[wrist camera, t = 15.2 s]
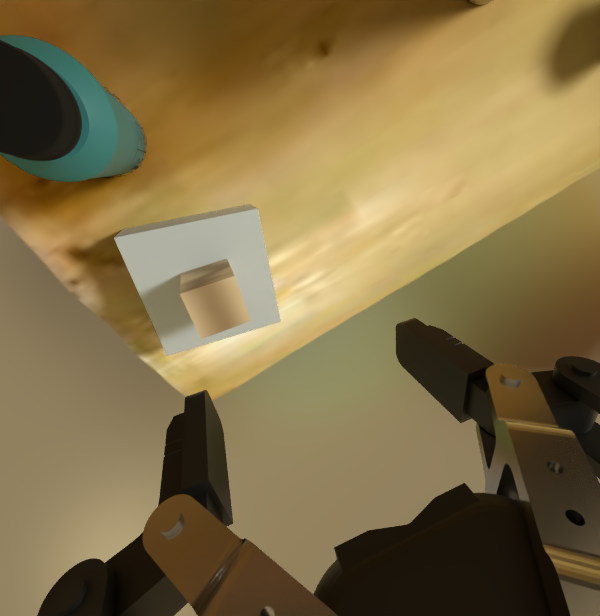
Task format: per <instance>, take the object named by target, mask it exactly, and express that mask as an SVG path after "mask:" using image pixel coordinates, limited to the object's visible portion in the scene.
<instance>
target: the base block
mask: <svg viewBox="0 0 600 616" xmlns="http://www.w3.org/2000/svg"><path fill="white" fill-rule="evenodd" d="M114 240H115V242H116V244H117V246H118V249H119V251H120V253H121V255H122V257H123V260H124V262H125V264H126V266H127V269H128V271H129V273H130V275H131V277H132V280H133V282H134V284H135V286H136V289H137V291H138V293H139V295H140V297H141V300H142V302H143V304H144V306H145V309H146V311H147V313H148V315H149V317H150V320H151V322H152V324H153V326H154V328H155V331H156V333H157V335H158V337H159V340H160V342H161V344H162V346H163V348H164V351H165V353H166V355H167V356H169V355H172V354H175V353H179V352H182V351H185V350H188V349H192V348H195V347H198V346H202V345H205V344H208V343H212V342H215V341H218V340H222V339H225V338H228V337H231V336H235V335H238V334H241V333H245V332H248V331H251V330H255V329H258V328H261V327H265V326H268V325H271V324H274V323H278V322H281V320H280V315H279V311H278V306H277V301H276V296H275V291H274V286H273V281H272V276H271V271H270V266H269V261H268V256H267V251H266V246H265V241H264V236H263V231H262V226H261V221H260V216H259V211H258V208H256V207H254V206H253V205H251V204H247V205H242V206H237V207H232V208H227V209H222V210H217V211H212V212H207V213H202V214H197V215H192V216H187V217H182V218H177V219H172V220H167V221H162V222H157V223H152V224H147V225H142V226H137V227H132V228H126V229H122V230H121V231H120V232H119V233H118V234H117V235H116V236H115V237H114ZM223 259H227V260H228V262H229V264H230V267H231V269H232V271H233V273H234V276H235V278H236V281H237V284H238V287H239V290H240V292H241V295H242V298H243V301H244V304H245V306H246V309H247V312H248V315H249V317H250V320H251V321H249V322H247V323H244V324H241V325H239V326H236V327H233V328H231V329H228V330H225V331H222V332H220V333H217V334H214V335H212V336H209V337H206V338H203V339H201V338H200V336H199V334H198V331H197V329H196V327H195V325H194V323H193V321H192V319H191V317H190V315H189V313H188V311H187V308H186V306H185V304H184V302H183V300H182V298H181V296H180V279H181V273H183V272H186V271H189V270H192V269H195V268H199V267H202V266H205V265H208V264H211V263H214V262H217V261H220V260H223Z"/></svg>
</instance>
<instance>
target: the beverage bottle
mask: <svg viewBox="0 0 600 616" xmlns="http://www.w3.org/2000/svg"><path fill="white" fill-rule="evenodd" d="M105 89H107V88H105ZM105 89H104V88H103V87H102V86H101V85H100V84H99V82H98V81H97V80H96V79H95V77H94V76H93V75H92V74H91V73H90V72H89V71H88V70H87V69H86V68H85V67H84V66H83V65H82V64H81V63H80V62H78V61H77V60H76V59H75V58H73V57H72V56H71V55H69V54H68V53H66V52H65V51H63V50H61V49H59V48H58V47H56V46H54V45H52V44H49V43H47V42H45V41H42V40H39V39H36V38H32V37H27V36H20V35H4V36H0V155H1V156H3V157H4V158H5V159H7V160H8V161H9V162H11V163H12V164H14V165H15V166H17V167H19V168H20V169H22V170H24V171H26V172H28V173H30V174H33V175H35V176H38V177H41V178H44V179H48V180H52V181H58V182H77V181H83V180H87V179H90V178H111V177H107V176H112V177H113V175H120V174H121V175H122V174H125V173H128V172H130V171H132V170H134V169H135V170H136V169H137V168H138V167H139V166H138V165H139V164H140V163H141V161H142V160H143V156H144V153H146V152H145V143H146V142H147V141H146V142H145V139H144V134H143V133H144V132H143V131H142V129H143V128H142V129H141V127H140V125H139V123H138V121H137V120H136V119H135V117H134V116H133V115H132V114H131V112H129V111H128V110H127V109H126V108H125V107H124V106H123V105H122V104H121V103H120V102H119V101H118V100H117V98H118V97H117V96H116V97H117V98H115V97H113V96H112V95H111V94H110V93H109V92H107V91H108V90H107V91H106V90H105ZM118 99H119V98H118ZM119 100H120V99H119ZM141 164H142V163H141ZM140 166H141V165H140ZM132 172H134V171H132ZM123 176H124V175H123ZM119 177H120V176H119ZM89 181H90V180H89Z"/></svg>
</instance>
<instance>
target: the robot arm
mask: <svg viewBox="0 0 600 616" xmlns="http://www.w3.org/2000/svg"><path fill="white" fill-rule="evenodd" d="M469 1H470V2H471V3H474V4H477V5H482V4H486V3H489V2H491V1H493V0H469ZM396 355H397V358H398V360H399V362H400V364H401V365H402V366H403V368H405V369H406V370H407V371H408V372H409V373H410V374H411V375H412V376H413V377H414V378H415V379H416V380H417V381H418V382H419V383H420V384H421V385H422V386H423V387H424V388H425V389H426V390H427V391H428V392H429V393H430V394H431V395H432V396H433V397H434V398H436V400H437V401H439V402H440V403H441V404H442V405H443V406H444V407H445V408H446V409H447V410H448V411H449V412H450V413H451V414H452V415H453V416H454V417H455V418H456V419H457V420H458V421H459V422H460V423H462V422H465V421H467V420H469V419H471V418H472V419H474V420H475V421H476V422H477V424H476V432H477V437H478V442H479V448H480V452H481V458H482V463H483V468H484V474H485V493H473V492H472V491H471V490H470V489H469V487H468V486H467V485H466V484H465V483H463V484H462V485H459V486H458V487H455V488H453V489H451V490H449V491H447V492H445V493H443V494H441V495H439V496H437V497H435V498H434V499H433V500H432V501H431V502H430V503H429V504H428V505H427V506H426V508H425V509H424V510H423V511H422V512H421V513H420V514H419V515H418V516H417V517H416V518H415V519H414V520H413V521H412V522H411V523H409V524H407V525H402V526H396V527H389V528H382V529H375V530H369V531H367V532H365V533H363V534H361V535H359V536H357V537H355V538H353V539H351V540H349V541H347V542H344V543H343V544H341V545H338V546H337V547H335V548H334V549H335V552H336V557H337V560H336V561H335V562H334V563H333V564H332V565H331V566H330V567H329V569H328V570H327V571H326V573H325V574H324V575H323V577H322V579H321V580H320V582H319V584H318V585H317V588H316V590H315V592H314V594H312V593H311V592H310V591H309V590H307V589H306V588H305V587H304V586H303V585H302V584H300V583H299V582H298V581H297V580H295V578H293V577H292V576H291V575H290V574H289V573H287V572H286V571H285V570H284V569H283V568H282V567H280V566H279V565H278V564H277V563H276V562H275V561H273V560H272V559H271V558H270V557H269V556H267V555H266V554H265V553H264V552H263V551H262V550H260V549H259V548H258V547H257V546H256V545H254V544H253V543H252V542H250V541H249V540H247V539H243V540H242V539H240V538H239V537H238V536H237V535H235V534H234V533H233V532H232V531H231V530H230V529H228V528H227V527H226V526H229V525H231V524H233V518H232V509H231V499H230V490H229V480H228V471H227V461H226V453H225V442H224V433H223V428H222V424H221V421H220V418H219V416H218V413H217V411H216V409H215V407H214V405H213V402H212V400H211V398H210V396H209V393H208V392H207V390H204V391H201V392H198V393H196V394H193V395H190V396H187V397H186V398H185V409H184V413H182V414H179V415H176V416H174V417H173V419H172V421H171V423H170V425H169V427H168V429H167V434H166V446H165V453H164V455H165V457H164V461H163V471H162V480H161V489H160V498H159V505H158V507H157V508H156V509H155V510H154V512H153V513H152V514H151V516H150V517H149V519H148V521H147V523H146V525H145V528H144V531H143V533H142V534H141V535H140V536H139V537H138V538H136V539H135V540H134V541H133V542H132V543H130V544H129V545H128V546H127V547H125V548H124V549H122V550H121V551H120V552H119V553H117V554H116V555H115V556H113V557H112V558H111V559H109V560H108V561H107V562H105V563H104V562H103V561H101V560H100V559H88V560H85V561H82V562H80V563H79V564H77V565H75V566H74V567H73V568H71V569H70V570H68V571H67V572H66V573H65V574H64V575H63V576H62V577H61V578H60V579H59V580H58V582H56V584H55V585H54V586H53V587H52V589H51V590H50V591H49V593H48V594H47V596H46V598H45V600H44V601H43V604H42V605H41V608H40V610H39V613H38V615H37V616H174V615H175V614H176V613H177V612H178V611H179V610H181V608H183V607H184V606H185V605H186V604H187V603H189V604H190V605H191V606H192V608H193V609H194V610H195V612H196V614H197V615H198V616H600V483H599V481H598V479H597V477H598V478H599V479H600V425H599V424H598V423H596V422H595V420H596V418H597V416H598V414H600V363H598V362H596V361H593V360H590V359H586V358H583V357H575V356H569V357H563V358H560V359H558V360H557V361H556V364H555V367H554V370H552V371H541V372H532V373H530V372H528V371H527V370H525V369H523V368H521V367H518V366H515V365H511V364H494V363H492V362H491V361H489V360H488V359H486V358H485V357H483V356H482V355H480V354H479V353H477V352H476V351H474V350H473V349H471V348H470V347H468V346H467V345H465V344H462V343H461V341H459V340H458V339H456V338H453V336H452V335H450V334H448V333H447V332H446V331H444V330H442V329H439V328H436V327H433V326H430V325H429V326H426V325H425V324H424V323H422V322H421V321H419V320H418V319H416V318H413V319H410V320H407V321H404V322H401V323H399V324H397V326H396ZM596 476H597V477H596Z"/></svg>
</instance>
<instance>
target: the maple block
mask: <svg viewBox="0 0 600 616" xmlns="http://www.w3.org/2000/svg"><path fill="white" fill-rule="evenodd" d="M180 296H181V298H182V300H183V302H184V304H185V306H186V308H187V311H188V313H189V315H190V317H191V319H192V321H193V323H194V325H195V327H196V329H197V331H198V334H199V336H200V338H201V339H203V338H206V337H209V336H212V335H214V334H217V333H220V332H222V331H225V330H228V329H231V328H233V327H236V326H239V325H241V324H244V323H247V322H249V321H251V320H250V317H249V315H248V312H247V309H246V306H245V304H244V301H243V298H242V295H241V292H240V290H239V287H238V284H237V281H236V278H235V276H234V273H233V271H232V269H231V267H230V264H229V262H228V260H227V259H223V260H220V261H217V262H214V263H211V264H208V265H205V266H202V267H199V268H195V269H192V270H189V271H186V272H183V273H181V279H180Z"/></svg>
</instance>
